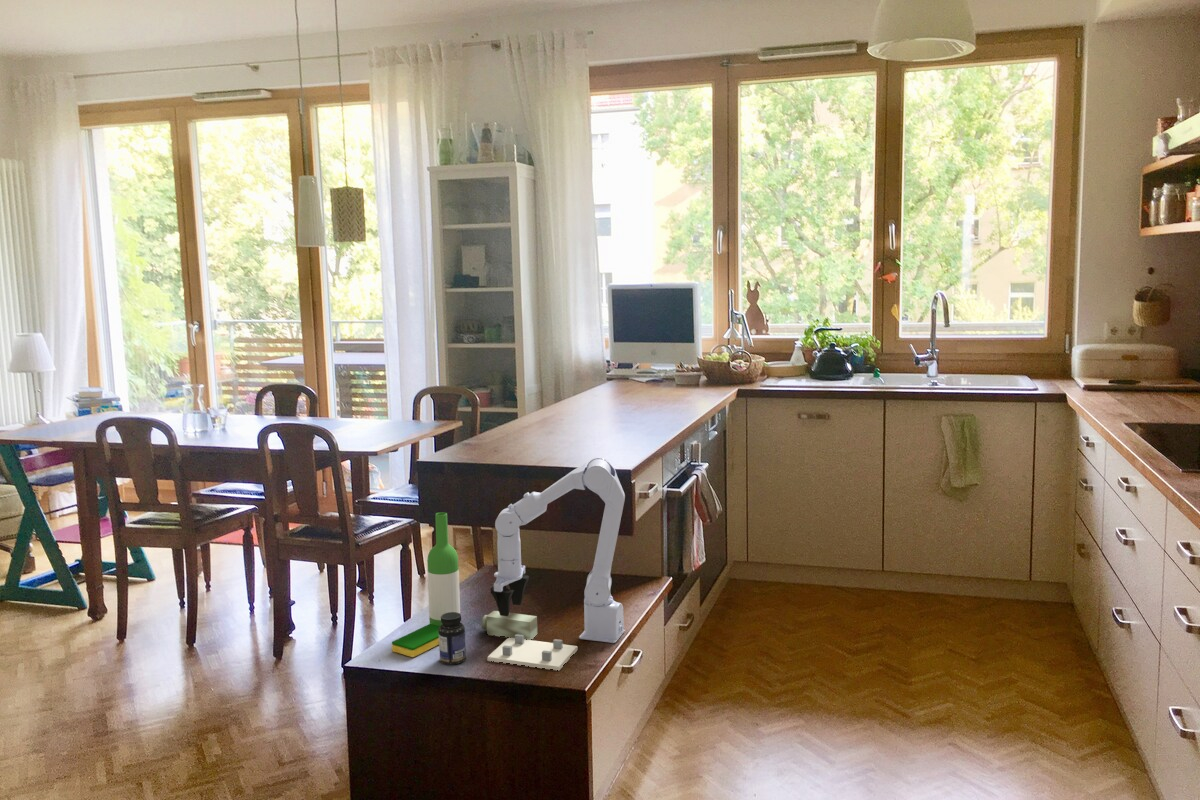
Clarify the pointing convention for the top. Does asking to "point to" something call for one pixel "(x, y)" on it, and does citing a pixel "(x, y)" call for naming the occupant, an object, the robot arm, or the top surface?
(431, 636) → the dish sponge
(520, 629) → the tall single-stud brick
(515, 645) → the cradle jig
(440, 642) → the pill bottle
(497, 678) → the top surface
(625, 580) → the top surface
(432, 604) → the wine bottle
